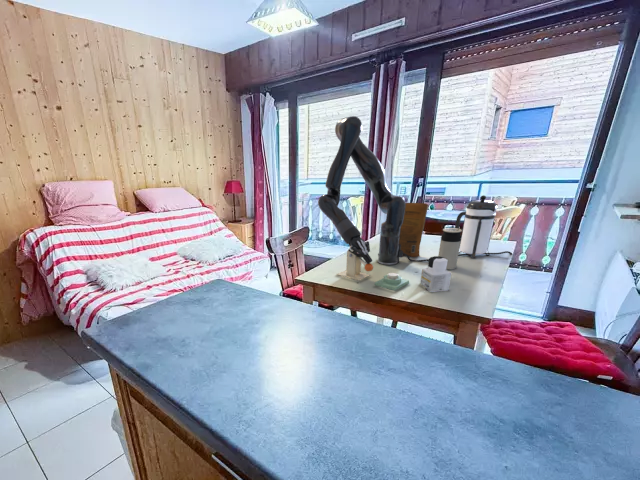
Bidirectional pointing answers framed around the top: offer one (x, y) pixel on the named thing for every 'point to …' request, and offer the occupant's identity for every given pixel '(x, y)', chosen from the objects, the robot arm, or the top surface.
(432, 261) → the container
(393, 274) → the button
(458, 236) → the travel mug
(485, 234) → the coffee press
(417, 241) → the pancake mix bag
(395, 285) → the button box
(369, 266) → the switch lever
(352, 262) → the switch bracket
